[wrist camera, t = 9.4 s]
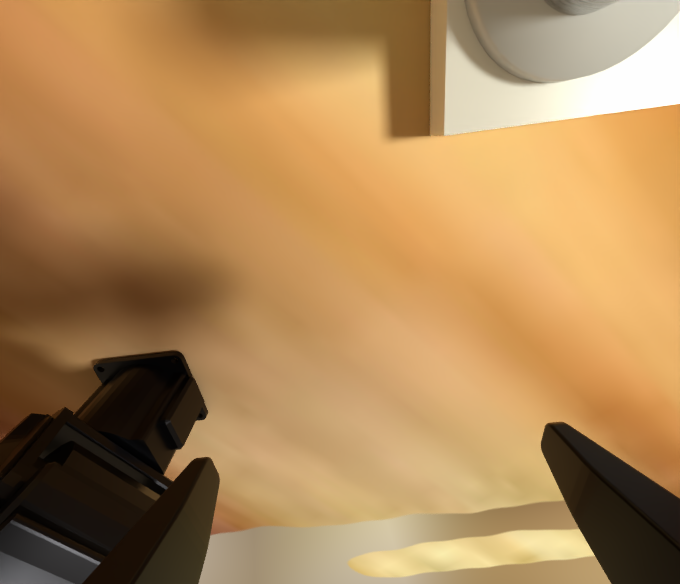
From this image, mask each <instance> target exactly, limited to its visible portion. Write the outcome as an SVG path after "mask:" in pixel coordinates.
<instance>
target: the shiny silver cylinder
mask: <svg viewBox="0 0 680 584" xmlns="http://www.w3.org/2000/svg"><path fill="white" fill-rule="evenodd" d="M544 1H545V2H546V4H548V5H549V6H550V7H551V8H553V9H554V10H556V11H558V12H561V13H564V14H567V15H585V14H589V13H593V12H595V11H598V10H601V9H603V8H605V7H607V6H609V5H611V4H614V3H616V2H618V1H620V0H544Z"/></svg>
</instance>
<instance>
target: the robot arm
mask: <svg viewBox="0 0 680 584" xmlns="http://www.w3.org/2000/svg"><path fill="white" fill-rule="evenodd" d="M174 358H176V359H178V360H176V359H174ZM102 367H103V368H102ZM93 369H94V371H95V372H96V374H97V376H98V377H99V379H100V381H101V382H102V385H101V386H100V387H99V388H98V389H97V390H96V391H95V392H94V393H93V394H92V395H91V397H90V398H89V399H88V400H87V401H86V402H85V403H84V404H83V405H82V406H81V407H80V408H79V410H78V411H77V412H76V413H75V414H74V415H73V412H72V411H71V410H69V409H68V408H66V407H64V408H62V409H61V410H59V411H58V412H56V413H55V414H53V415H52V416H50V415H48V414H47V415H42V414H33V413H31V414H30V415H29V416H27V417H26V418H24V419H23V420H22V421H21V422H20V423H19V424H18V425H17V426H16V427H15V428H13V429H12V430H11V431H10V432H9V433H8V434H7V435H6V436H5V437H4V438H3V439H2V440H1V441H0V584H198V583H199V579H200V575H201V572H202V568H203V564H204V560H205V557H206V553H207V549H208V544H209V539H210V534H211V528H212V523H213V517H214V511H215V506H216V500H217V495H218V489H219V482H220V479H219V474H218V472H217V470H216V468H215V466H214V463H213V461H212V459H211V458H209V457H202V458H196V459H194V460H193V461H191V462H190V464H189V465H188V466H187V467H186V468H185V469H184V470H183V471H182V472H181V474H180V475H179V476H178V477H177V478H176V479H175V480H174V481H172V480H170V479H169V478H167V477H166V476H164V473H165V471H166V469H167V467H168V465H169V463H170V461H171V459H172V457H173V455H174V453H175V451H176V450H178V449H181V448H182V447H183V446H184V444H185V442H186V440H187V438H188V436H189V434H190V431H191V429H192V427H193V425H194V423H195V421H197V420H204V419H205V418H206V416H207V414H208V410H207V408H206V406H205V403H204V399H203V397H202V395H201V392H200V390H199V388H198V385H197V383H196V381H195V379H194V378H193V376H192V374H191V371H190V369H189V367H188V364H187V362H186V360H185V358H184V356H183V354H181V353H179V352H170V353H161V354H152V355H144V356H135V357H126V358H117V359H109V360H101V361H98V362H97V363H96V364H95V365H94V367H93ZM541 449H542V452H543V455H544V457H545V459H546V461H547V463H548V465H549V468H550V470H551V472H552V474H553V476H554V478H555V480H556V483H557V485H558V487H559V489H560V491H561V493H562V495H563V498H564V500H565V502H566V504H567V506H568V508H569V510H570V512H571V514H572V516H573V518H574V520H575V522H576V523H577V525H578V527H579V529H580V531H581V532H582V534H583V536H584V537H585V539H586V541H587V543H588V544H589V546H590V548H591V549H592V551H593V553H594V555H595V556H596V558H597V560H598V562H599V563H600V565H601V567H602V568H603V570H604V572H605V573H606V575H607V577H608V579H609V580H610V582H611V584H680V498H678V497H677V496H675V495H674V494H672V493H671V492H669V491H668V490H666V489H665V488H663V487H662V486H660V485H659V484H657V483H656V482H654V481H653V480H651V479H650V478H648V477H647V476H645V475H644V474H642V473H640V472H639V471H637V470H636V469H634V468H633V467H631V466H630V465H628V464H627V463H625V462H624V461H622V460H621V459H619V458H618V457H616V456H615V455H613V454H612V453H610V452H609V451H607V450H606V449H604V448H603V447H601V446H600V445H598V444H597V443H595V442H594V441H592V440H591V439H589V438H588V437H586V436H585V435H583V434H582V433H580V432H579V431H577V430H576V429H574V428H573V427H571V426H570V425H568V424H566V423H564V422H553V423H547V424H546V425H545V429H544V433H543V437H542V441H541Z"/></svg>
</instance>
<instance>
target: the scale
mask: <svg viewBox="0 0 680 584" xmlns="http://www.w3.org/2000/svg"><path fill="white" fill-rule="evenodd" d="M674 104H680V0H620V1H618V2H616V3H614V4H611V5H609V6H607V7H605V8H603V9H601V10H598V11H595V12H593V13H589V14H585V15H567V14H564V13H561V12H558V11H556V10H554V9H553V8H551V7H550V6H549V5H548V4H546V2H545V1H544V0H431V13H430V136H447V135H454V134H461V133H469V132H476V131H483V130H491V129H498V128H505V127H512V126H520V125H527V124H534V123H542V122H549V121H556V120H564V119H571V118H578V117H586V116H593V115H600V114H608V113H615V112H622V111H630V110H637V109H644V108H652V107H659V106H666V105H674Z"/></svg>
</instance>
